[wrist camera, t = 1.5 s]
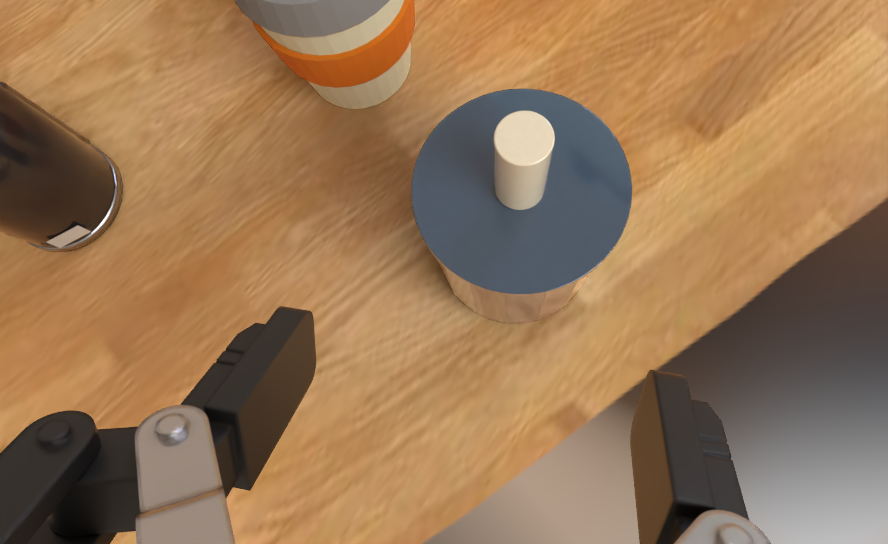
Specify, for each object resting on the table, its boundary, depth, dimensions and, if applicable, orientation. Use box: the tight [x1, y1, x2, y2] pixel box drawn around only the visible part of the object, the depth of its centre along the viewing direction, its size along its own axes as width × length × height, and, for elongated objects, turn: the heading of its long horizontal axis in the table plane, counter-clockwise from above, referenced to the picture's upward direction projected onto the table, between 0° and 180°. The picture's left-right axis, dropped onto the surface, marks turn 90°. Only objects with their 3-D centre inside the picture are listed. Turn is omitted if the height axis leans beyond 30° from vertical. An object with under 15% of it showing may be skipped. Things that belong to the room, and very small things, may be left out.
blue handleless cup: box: [439, 262, 589, 324], centre depth 40 cm, size 11×11×13 cm
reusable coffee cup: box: [234, 0, 415, 109], centre depth 44 cm, size 12×13×15 cm
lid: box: [411, 89, 632, 296], centre depth 31 cm, size 12×12×7 cm
